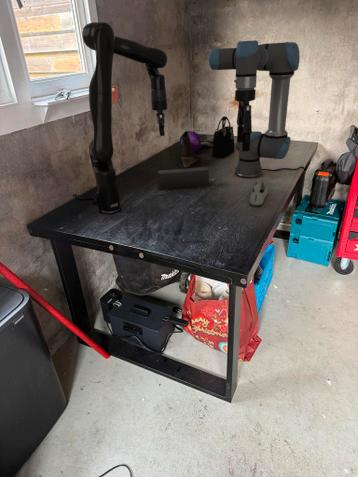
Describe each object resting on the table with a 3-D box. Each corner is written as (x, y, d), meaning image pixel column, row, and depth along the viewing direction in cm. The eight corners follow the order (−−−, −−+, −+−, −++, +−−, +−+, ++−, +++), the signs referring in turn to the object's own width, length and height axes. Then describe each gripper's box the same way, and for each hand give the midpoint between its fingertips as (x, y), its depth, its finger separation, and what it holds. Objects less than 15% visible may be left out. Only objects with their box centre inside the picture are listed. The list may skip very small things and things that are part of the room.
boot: (199, 157, 223) (198, 126, 213) (193, 168, 203) (192, 135, 193) (186, 157, 225) (185, 126, 215) (179, 168, 205) (177, 135, 195)
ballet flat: (269, 188, 169) (270, 173, 165) (265, 208, 149) (266, 191, 145) (252, 187, 171) (253, 172, 167) (246, 206, 151) (247, 190, 147)
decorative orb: (204, 151, 235) (204, 129, 228) (194, 156, 225) (193, 134, 217) (186, 149, 243) (186, 128, 235) (175, 154, 232) (174, 132, 224)
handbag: (223, 159, 216) (223, 119, 204) (210, 157, 220) (210, 119, 208) (235, 151, 231) (236, 113, 218) (223, 150, 235) (224, 113, 223)
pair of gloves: (199, 150, 238) (199, 142, 236) (185, 142, 259) (184, 136, 256) (235, 144, 248) (235, 136, 245) (218, 137, 269) (218, 130, 266)
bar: (207, 182, 182) (207, 166, 177) (208, 185, 177) (208, 169, 173) (159, 186, 180) (157, 170, 176) (159, 189, 176) (158, 173, 171)
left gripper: (150, 97, 162) (153, 131, 170) (151, 101, 149) (154, 137, 157) (166, 96, 162) (168, 130, 170) (168, 100, 150) (170, 136, 158)
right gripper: (230, 86, 133) (229, 139, 144) (240, 93, 111) (238, 155, 122) (249, 85, 133) (246, 138, 143) (262, 92, 111) (258, 154, 122)
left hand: (161, 133), depth 164 cm, fingers open, 8 cm apart
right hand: (242, 146), depth 133 cm, fingers open, 13 cm apart
